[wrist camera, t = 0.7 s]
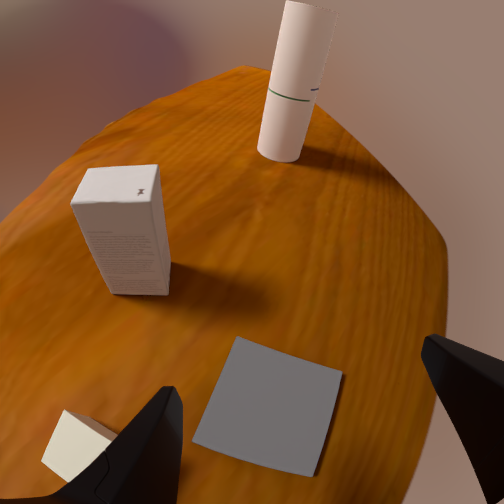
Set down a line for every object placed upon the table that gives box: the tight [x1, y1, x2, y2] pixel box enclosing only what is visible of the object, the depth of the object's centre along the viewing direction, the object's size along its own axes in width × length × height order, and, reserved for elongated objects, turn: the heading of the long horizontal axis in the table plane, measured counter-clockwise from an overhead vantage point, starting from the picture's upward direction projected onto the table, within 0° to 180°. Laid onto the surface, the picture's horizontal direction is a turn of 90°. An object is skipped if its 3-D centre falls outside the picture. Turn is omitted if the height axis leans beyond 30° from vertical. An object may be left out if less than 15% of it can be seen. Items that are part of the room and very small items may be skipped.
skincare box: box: [71, 165, 171, 295], centre depth 22 cm, size 6×4×12 cm
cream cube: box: [41, 410, 118, 482], centre depth 14 cm, size 5×5×5 cm
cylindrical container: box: [257, 1, 339, 162], centre depth 35 cm, size 7×7×25 cm
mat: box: [192, 336, 342, 477], centre depth 20 cm, size 10×10×1 cm
